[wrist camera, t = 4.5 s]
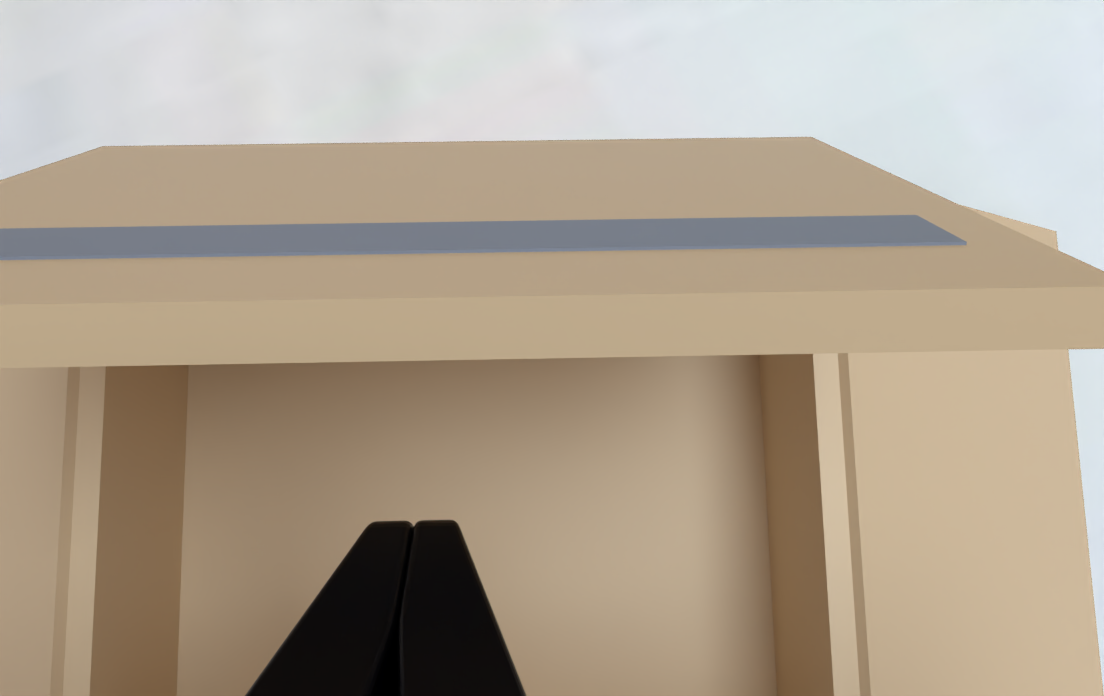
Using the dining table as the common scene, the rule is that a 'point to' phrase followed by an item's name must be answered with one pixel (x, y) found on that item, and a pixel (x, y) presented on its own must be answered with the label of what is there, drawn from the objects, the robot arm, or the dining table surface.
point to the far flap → (511, 256)
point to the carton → (563, 518)
